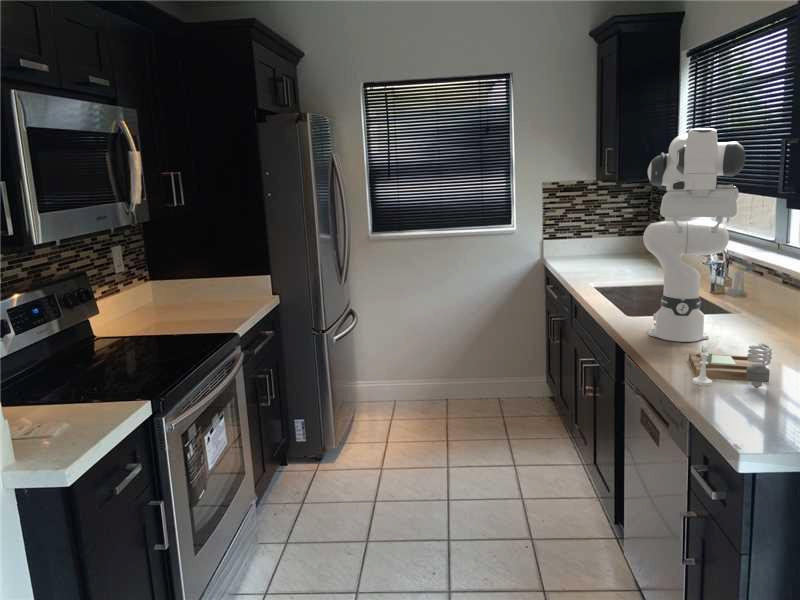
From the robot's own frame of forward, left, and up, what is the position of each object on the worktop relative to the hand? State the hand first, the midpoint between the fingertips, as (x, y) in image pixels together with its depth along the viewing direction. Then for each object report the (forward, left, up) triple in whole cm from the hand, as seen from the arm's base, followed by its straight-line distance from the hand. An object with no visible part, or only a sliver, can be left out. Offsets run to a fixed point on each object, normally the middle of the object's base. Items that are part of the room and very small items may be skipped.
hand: (696, 233), depth 194 cm
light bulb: (+24, +14, -38) cm, 47 cm away
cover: (+11, +7, -35) cm, 38 cm away
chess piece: (+23, +1, -38) cm, 44 cm away
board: (+11, +9, -38) cm, 40 cm away
